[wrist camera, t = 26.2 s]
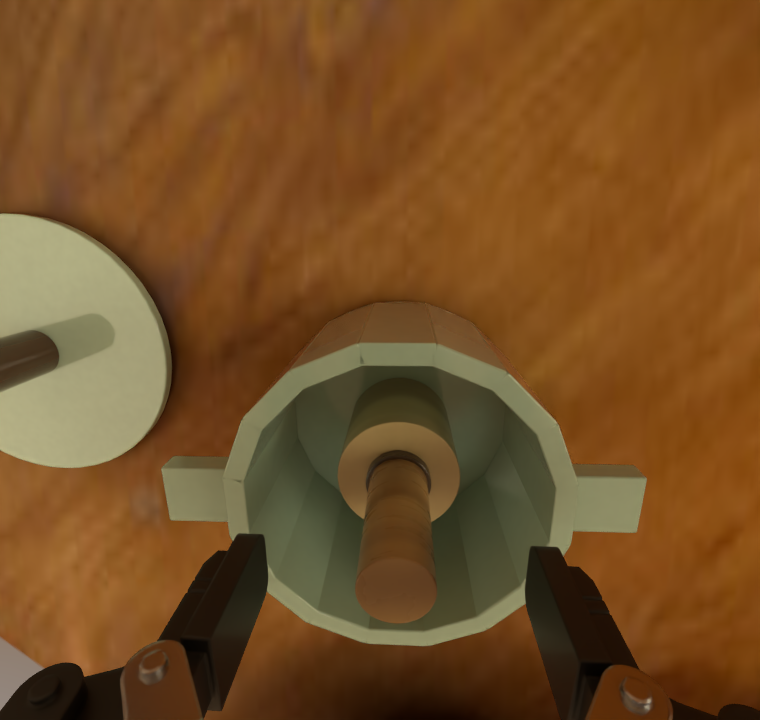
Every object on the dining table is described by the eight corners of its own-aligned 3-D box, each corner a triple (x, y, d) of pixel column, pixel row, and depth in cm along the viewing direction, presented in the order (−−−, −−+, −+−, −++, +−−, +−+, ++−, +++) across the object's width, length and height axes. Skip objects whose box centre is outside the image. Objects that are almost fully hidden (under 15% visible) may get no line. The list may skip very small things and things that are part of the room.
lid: (-105, 215, 22) (-274, 211, 17) (156, 212, 22) (70, 206, 16) (-29, 455, 26) (-145, 517, 21) (193, 460, 26) (135, 524, 20)
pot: (224, 300, 23) (124, 341, 15) (582, 300, 22) (688, 344, 14) (248, 511, 26) (179, 637, 18) (554, 519, 25) (625, 655, 17)
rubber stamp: (350, 377, 23) (301, 513, 12) (449, 377, 23) (492, 518, 12) (353, 464, 24) (312, 656, 14) (446, 465, 24) (481, 663, 13)
